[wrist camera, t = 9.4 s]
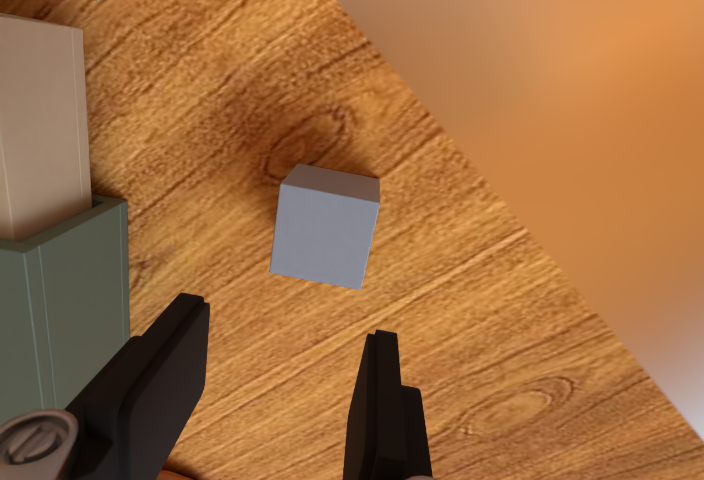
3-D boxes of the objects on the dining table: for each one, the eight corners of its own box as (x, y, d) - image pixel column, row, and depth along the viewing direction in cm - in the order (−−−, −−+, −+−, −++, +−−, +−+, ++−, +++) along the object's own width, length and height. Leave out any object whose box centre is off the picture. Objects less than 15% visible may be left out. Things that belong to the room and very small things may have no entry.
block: (297, 162, 23) (280, 182, 18) (379, 178, 23) (380, 202, 18) (287, 238, 24) (268, 273, 20) (363, 253, 24) (360, 290, 20)
